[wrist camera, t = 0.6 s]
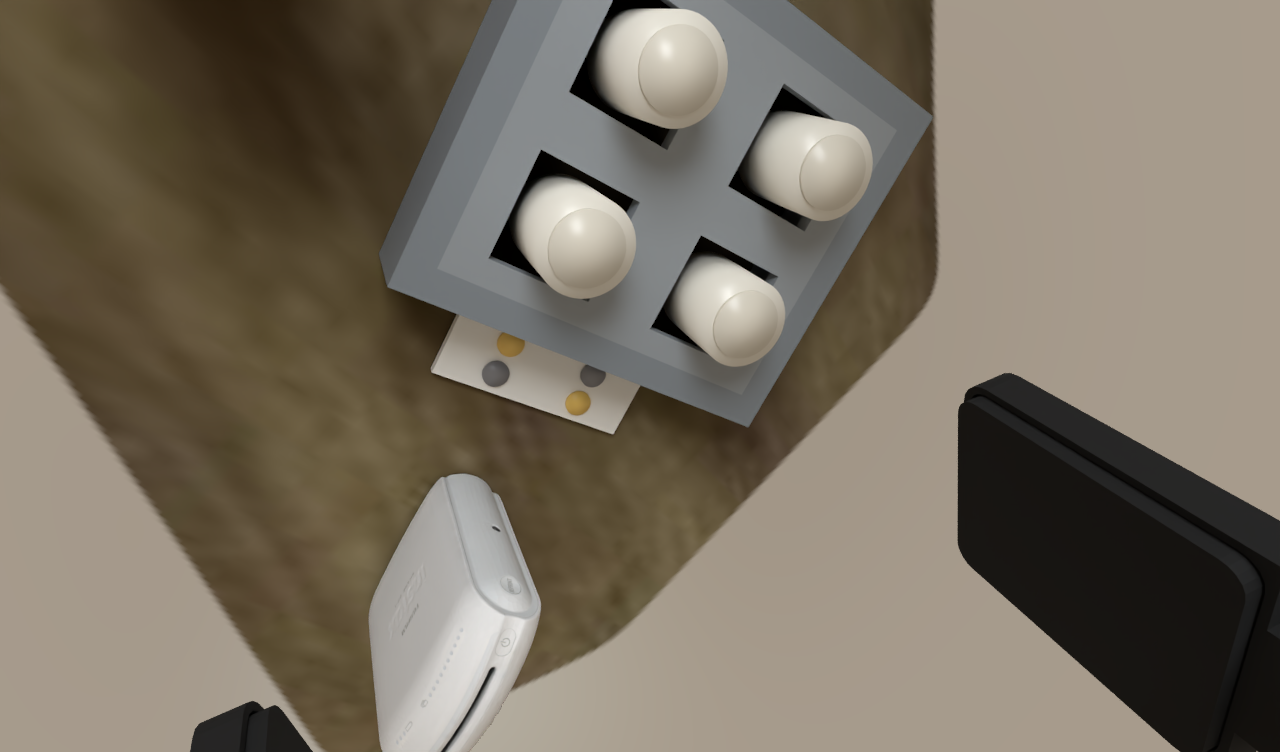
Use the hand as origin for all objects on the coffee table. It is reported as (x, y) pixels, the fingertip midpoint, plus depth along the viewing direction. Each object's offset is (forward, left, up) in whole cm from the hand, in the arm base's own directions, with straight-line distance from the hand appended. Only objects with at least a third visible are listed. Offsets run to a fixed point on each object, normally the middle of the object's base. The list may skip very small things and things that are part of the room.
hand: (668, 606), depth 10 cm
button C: (-1, +6, -26) cm, 27 cm away
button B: (-9, +14, -26) cm, 31 cm away
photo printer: (+18, +9, -30) cm, 36 cm away
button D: (-1, +14, -26) cm, 30 cm away
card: (+6, +10, -29) cm, 31 cm away
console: (-5, +10, -29) cm, 31 cm away
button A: (-9, +6, -26) cm, 28 cm away
